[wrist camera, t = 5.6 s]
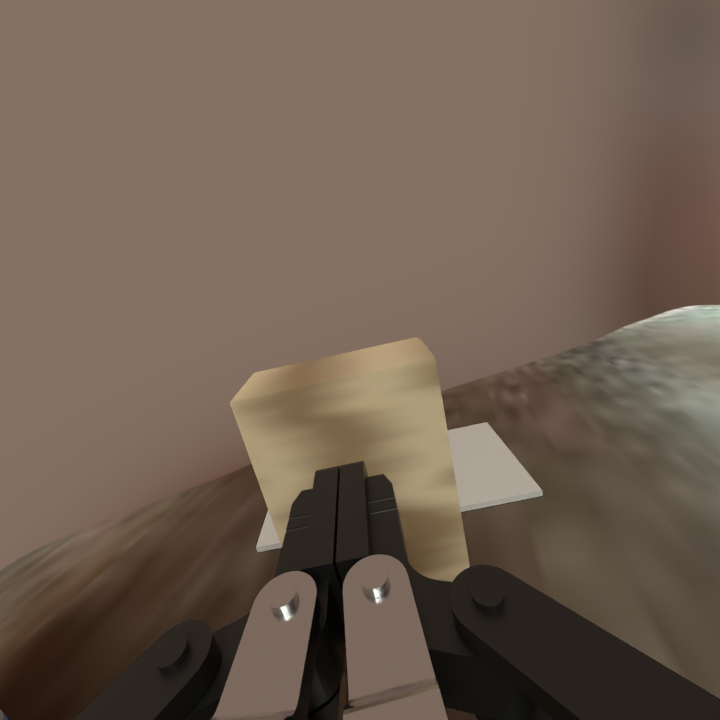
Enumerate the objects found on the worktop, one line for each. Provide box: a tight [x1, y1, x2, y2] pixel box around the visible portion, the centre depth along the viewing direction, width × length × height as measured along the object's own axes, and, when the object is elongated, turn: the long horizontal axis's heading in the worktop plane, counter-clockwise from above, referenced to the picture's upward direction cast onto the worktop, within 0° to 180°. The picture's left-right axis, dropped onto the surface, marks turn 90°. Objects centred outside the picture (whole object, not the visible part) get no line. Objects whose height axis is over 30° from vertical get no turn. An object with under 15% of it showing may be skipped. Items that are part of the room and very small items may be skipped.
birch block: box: [230, 337, 470, 582], centre depth 17 cm, size 8×4×12 cm, turn 92°
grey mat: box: [256, 422, 543, 552], centre depth 26 cm, size 18×9×1 cm, turn 92°
